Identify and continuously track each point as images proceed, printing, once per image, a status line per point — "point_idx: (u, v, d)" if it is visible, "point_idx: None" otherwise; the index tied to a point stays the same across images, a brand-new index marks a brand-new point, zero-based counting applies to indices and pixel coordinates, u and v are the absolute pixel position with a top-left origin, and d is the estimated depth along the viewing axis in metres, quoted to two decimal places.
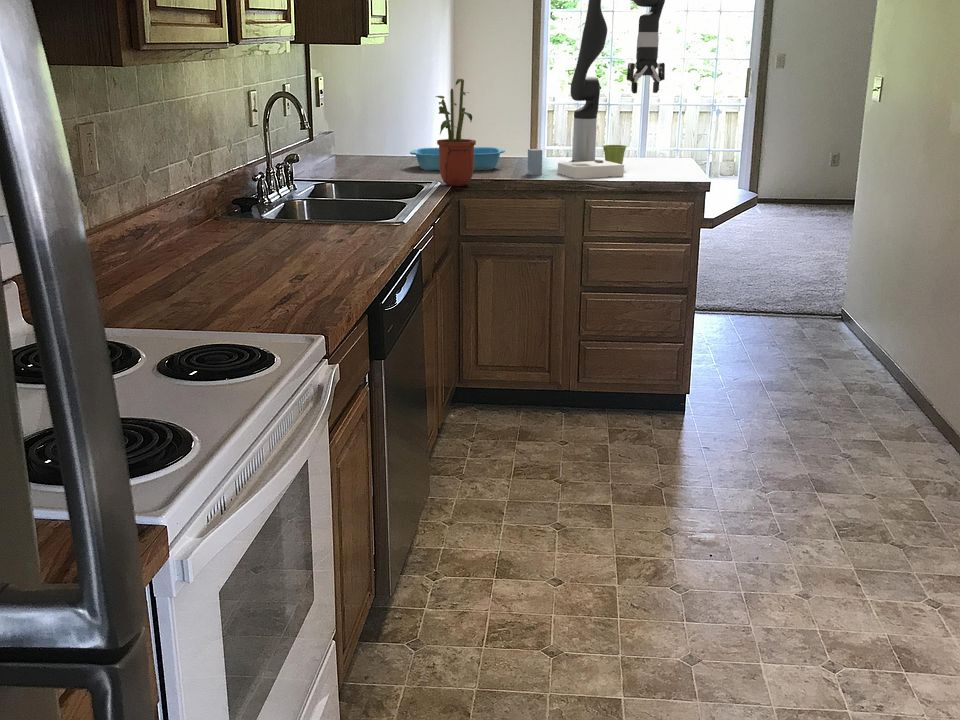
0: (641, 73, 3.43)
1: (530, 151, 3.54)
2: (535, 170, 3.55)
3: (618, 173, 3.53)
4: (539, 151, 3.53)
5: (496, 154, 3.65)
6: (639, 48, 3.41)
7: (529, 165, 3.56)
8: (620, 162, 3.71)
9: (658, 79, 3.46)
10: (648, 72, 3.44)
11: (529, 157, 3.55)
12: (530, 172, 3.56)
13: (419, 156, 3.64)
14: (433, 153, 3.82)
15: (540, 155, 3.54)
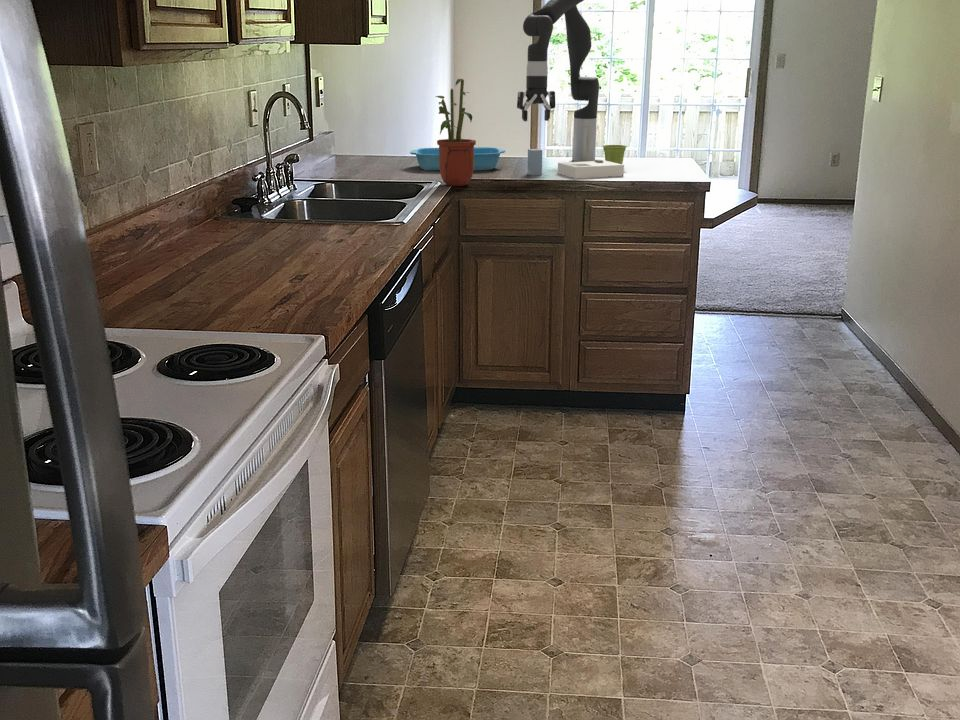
0: (531, 101, 3.46)
1: (530, 151, 3.54)
2: (535, 170, 3.55)
3: (618, 173, 3.53)
4: (539, 151, 3.53)
5: (496, 154, 3.65)
6: (528, 77, 3.44)
7: (529, 165, 3.56)
8: (620, 162, 3.71)
9: (549, 107, 3.50)
10: (538, 100, 3.48)
11: (529, 157, 3.55)
12: (530, 172, 3.56)
13: (419, 156, 3.64)
14: (434, 153, 3.82)
15: (540, 155, 3.54)
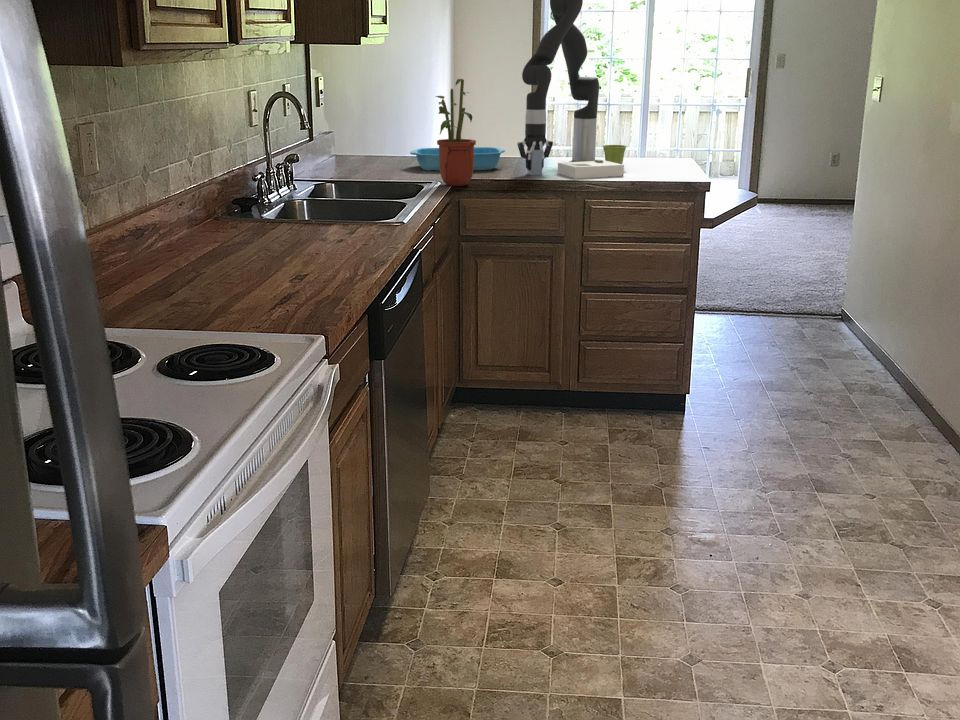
0: None
1: None
2: (535, 170, 3.55)
3: (618, 173, 3.53)
4: (539, 151, 3.53)
5: (497, 154, 3.66)
6: (527, 125, 3.50)
7: None
8: (620, 162, 3.71)
9: (542, 157, 3.55)
10: (537, 147, 3.53)
11: None
12: (530, 172, 3.56)
13: (420, 156, 3.64)
14: (433, 153, 3.82)
15: (540, 155, 3.54)
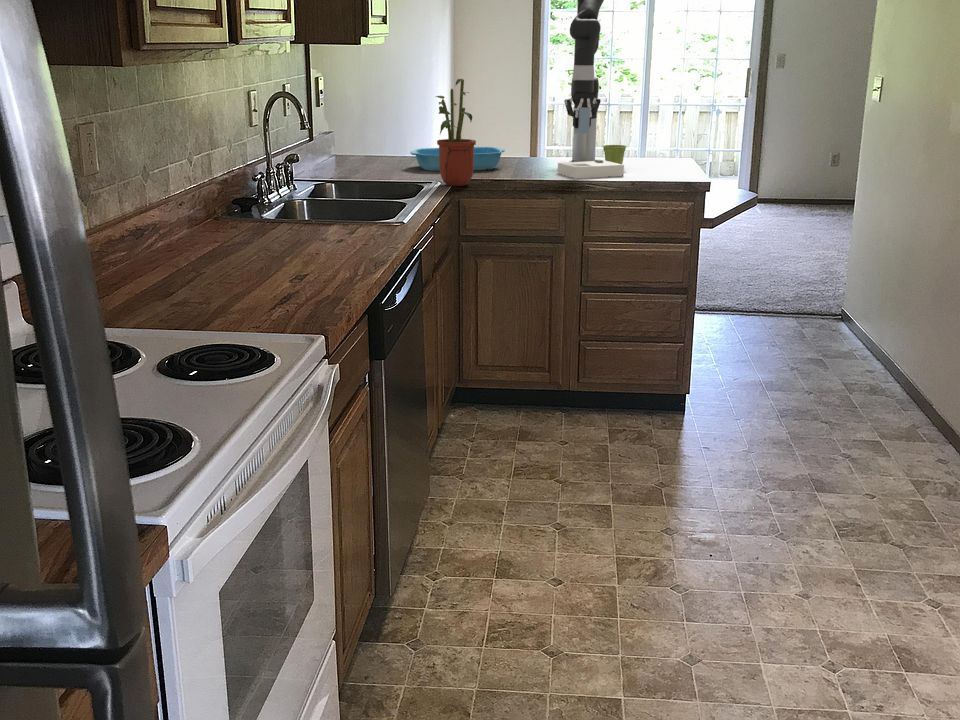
0: (579, 107, 3.43)
1: None
2: (582, 129, 3.46)
3: (618, 173, 3.53)
4: (587, 108, 3.44)
5: (498, 153, 3.67)
6: (575, 81, 3.41)
7: None
8: (620, 162, 3.71)
9: (590, 114, 3.46)
10: (584, 105, 3.44)
11: None
12: (577, 130, 3.47)
13: (422, 156, 3.63)
14: (431, 153, 3.81)
15: (588, 113, 3.45)
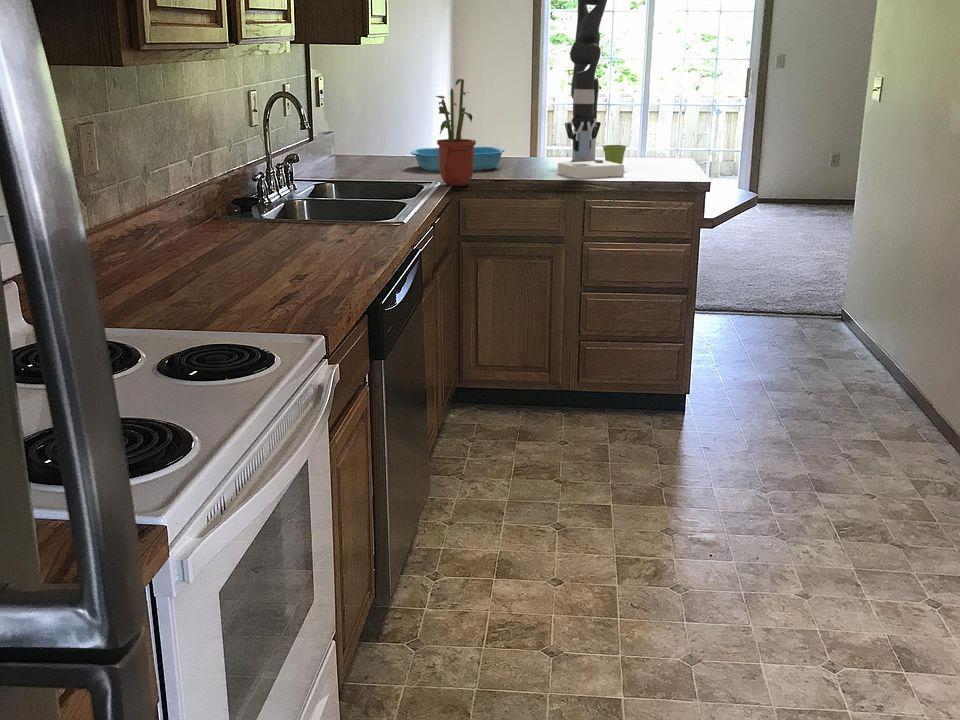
0: (579, 130, 3.46)
1: None
2: (582, 152, 3.48)
3: (618, 173, 3.53)
4: (587, 132, 3.47)
5: (499, 153, 3.68)
6: (575, 105, 3.43)
7: None
8: (620, 162, 3.71)
9: (590, 137, 3.49)
10: (584, 128, 3.47)
11: None
12: (577, 153, 3.49)
13: (424, 157, 3.62)
14: (430, 153, 3.81)
15: (588, 136, 3.47)
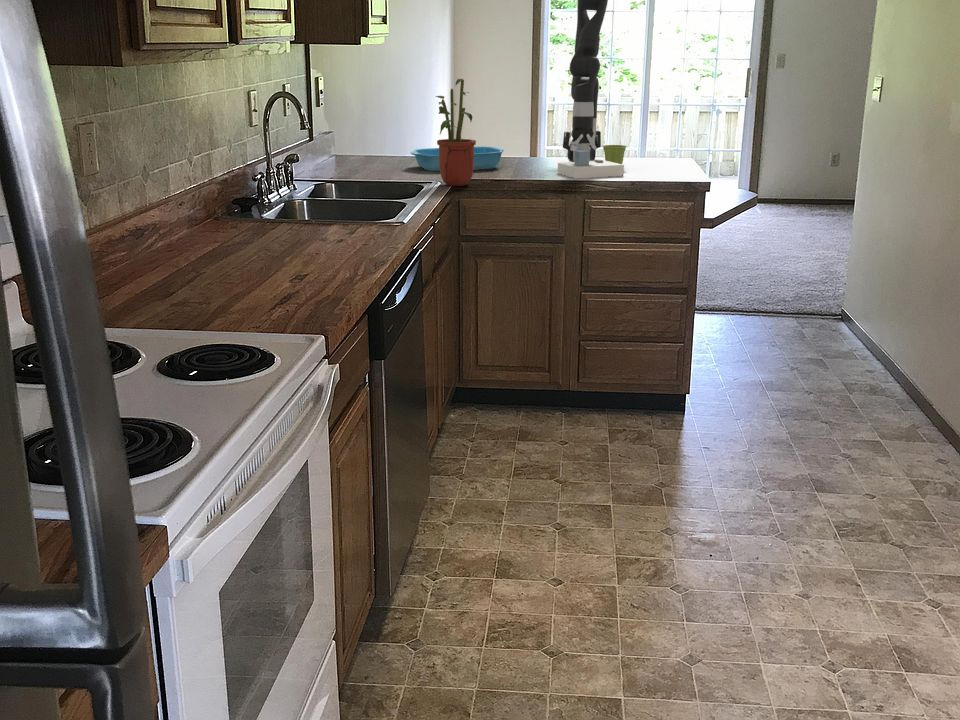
0: (577, 142, 3.47)
1: (577, 152, 3.50)
2: None
3: (618, 173, 3.53)
4: (586, 152, 3.49)
5: (500, 153, 3.69)
6: (574, 117, 3.45)
7: None
8: (620, 162, 3.71)
9: (594, 147, 3.50)
10: (584, 140, 3.48)
11: (576, 159, 3.51)
12: None
13: (426, 157, 3.62)
14: (429, 153, 3.80)
15: (587, 157, 3.50)
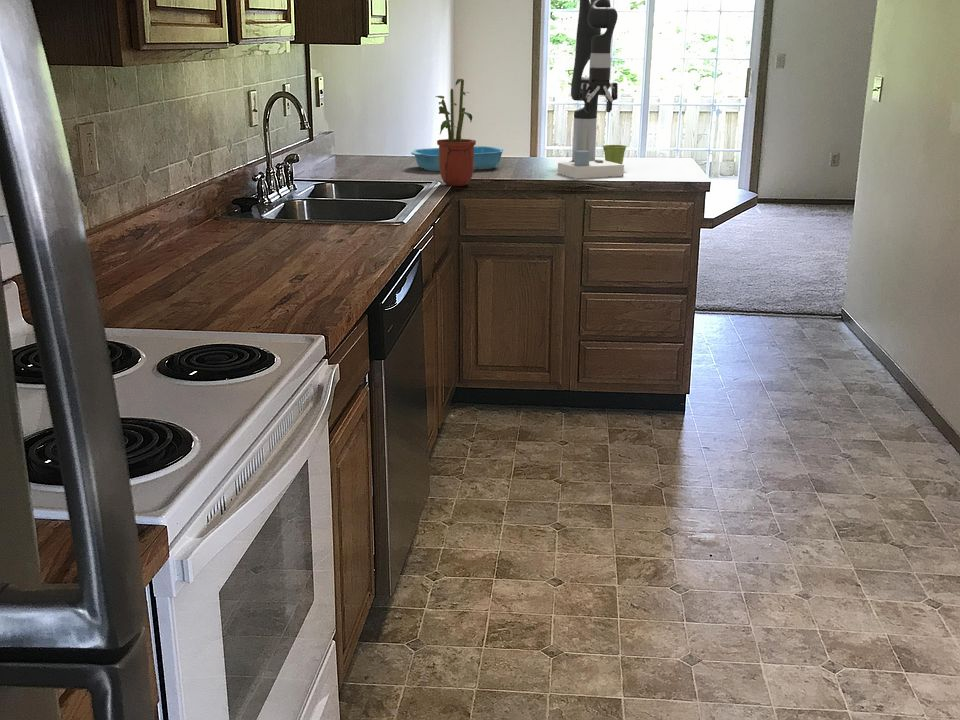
0: (593, 93, 3.49)
1: (577, 152, 3.50)
2: None
3: (618, 173, 3.53)
4: (586, 152, 3.49)
5: (501, 153, 3.70)
6: (591, 69, 3.46)
7: None
8: (620, 162, 3.71)
9: (611, 99, 3.52)
10: (601, 92, 3.50)
11: (576, 159, 3.51)
12: None
13: (428, 157, 3.61)
14: (427, 154, 3.79)
15: (587, 157, 3.50)
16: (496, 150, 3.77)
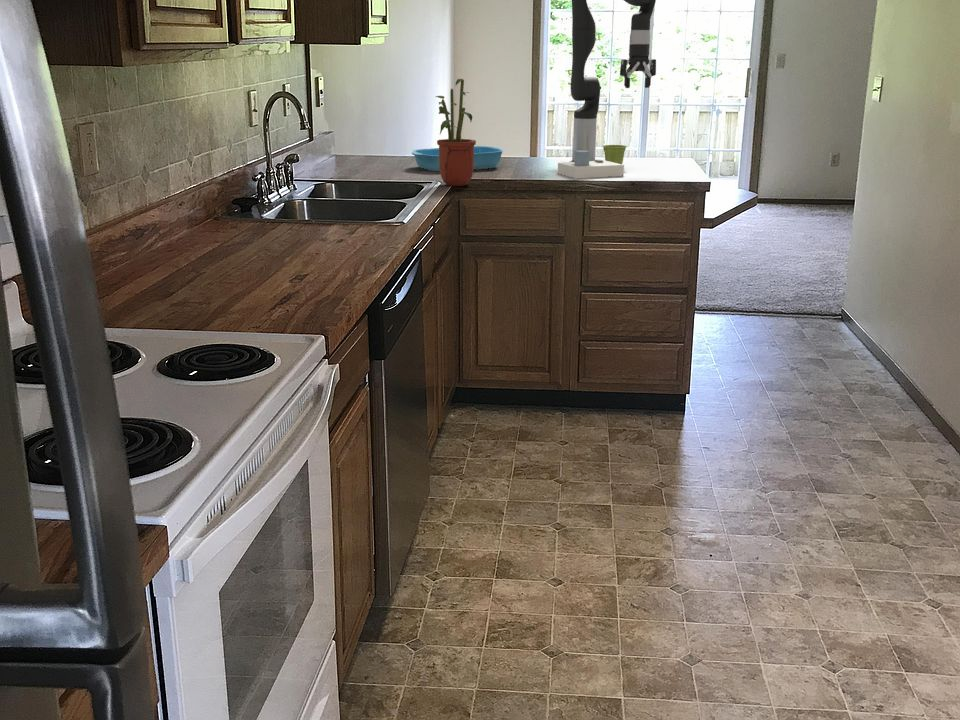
0: (633, 69, 3.62)
1: (577, 152, 3.50)
2: None
3: (618, 173, 3.53)
4: (586, 152, 3.49)
5: (501, 152, 3.72)
6: (631, 45, 3.60)
7: None
8: (620, 162, 3.71)
9: (650, 75, 3.66)
10: (640, 68, 3.64)
11: (576, 159, 3.51)
12: None
13: (431, 157, 3.60)
14: (426, 154, 3.79)
15: (587, 157, 3.50)
16: (495, 150, 3.78)
